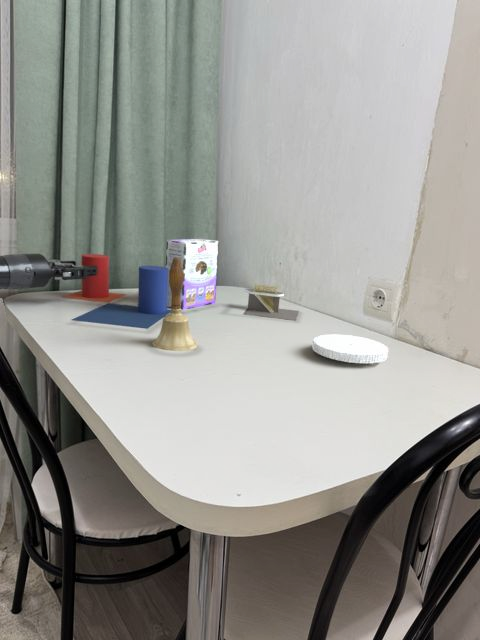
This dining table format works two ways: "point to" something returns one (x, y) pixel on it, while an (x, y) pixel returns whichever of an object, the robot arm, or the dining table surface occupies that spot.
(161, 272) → the blue cylinder
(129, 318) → the blue mat
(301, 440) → the dining table surface
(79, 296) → the red mat
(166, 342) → the hand bell
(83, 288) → the red cylinder
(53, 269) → the robot arm
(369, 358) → the plastic lid
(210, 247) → the candy box
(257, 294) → the platform
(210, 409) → the dining table surface
